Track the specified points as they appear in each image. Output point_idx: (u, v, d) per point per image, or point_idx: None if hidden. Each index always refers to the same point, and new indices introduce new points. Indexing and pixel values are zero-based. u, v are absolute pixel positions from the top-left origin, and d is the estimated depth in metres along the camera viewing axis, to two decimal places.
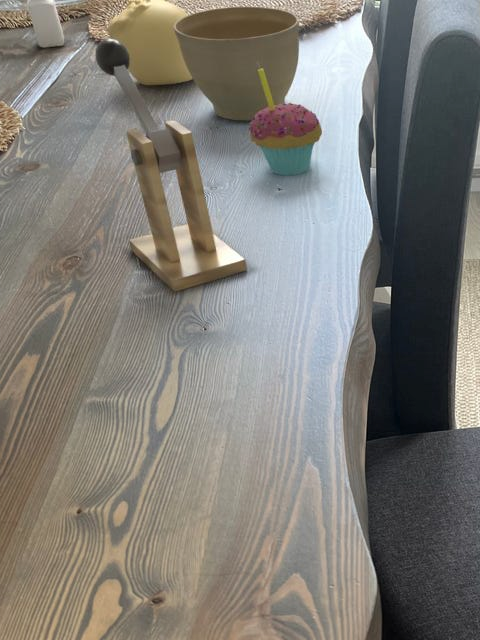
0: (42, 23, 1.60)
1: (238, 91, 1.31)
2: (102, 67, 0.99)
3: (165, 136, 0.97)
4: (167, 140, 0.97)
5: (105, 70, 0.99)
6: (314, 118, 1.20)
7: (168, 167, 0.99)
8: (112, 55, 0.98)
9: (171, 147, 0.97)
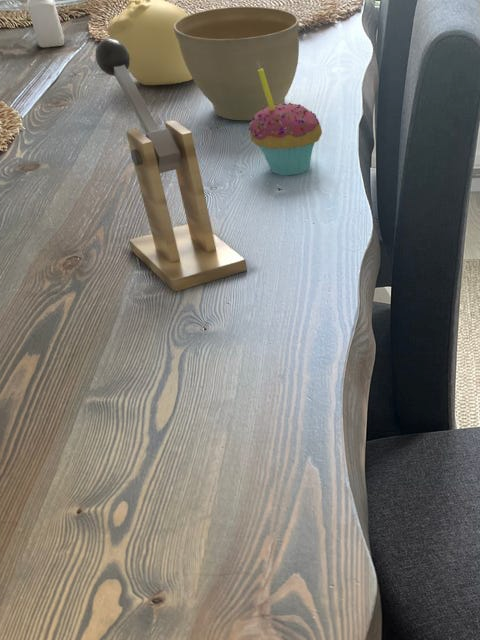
0: (42, 23, 1.60)
1: (238, 91, 1.31)
2: (102, 67, 0.99)
3: (165, 136, 0.97)
4: (167, 140, 0.97)
5: (105, 70, 0.99)
6: (314, 118, 1.20)
7: (168, 167, 0.99)
8: (112, 55, 0.98)
9: (171, 147, 0.97)
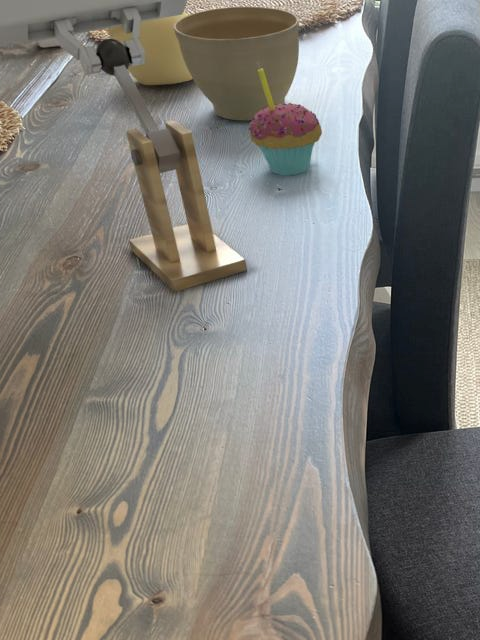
0: None
1: (238, 91, 1.31)
2: (102, 67, 0.99)
3: (165, 136, 0.97)
4: (167, 140, 0.97)
5: (105, 70, 0.99)
6: (314, 118, 1.20)
7: (168, 167, 0.99)
8: (112, 55, 0.98)
9: (171, 147, 0.97)
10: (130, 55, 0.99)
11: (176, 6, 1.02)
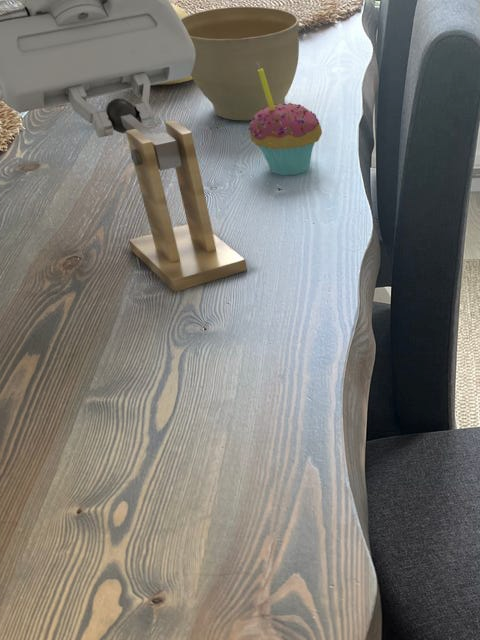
0: None
1: (238, 91, 1.31)
2: (111, 122, 1.03)
3: (162, 135, 0.98)
4: (164, 136, 0.98)
5: (114, 124, 1.04)
6: (314, 118, 1.20)
7: (169, 162, 0.98)
8: (118, 106, 1.03)
9: (168, 139, 0.97)
10: (140, 118, 1.04)
11: (183, 70, 1.07)
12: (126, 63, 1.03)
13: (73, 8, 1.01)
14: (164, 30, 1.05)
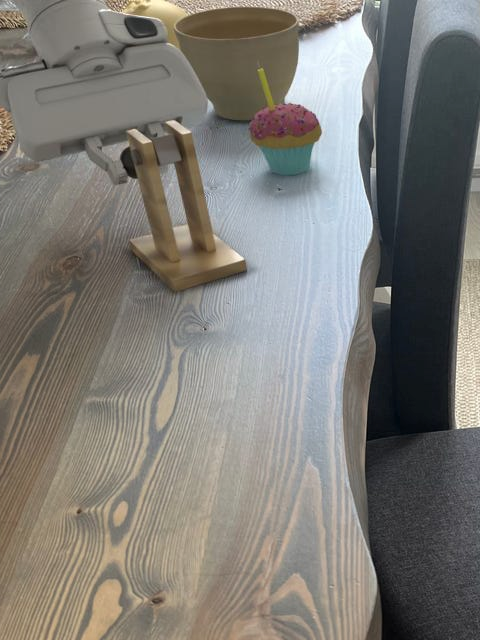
0: None
1: (238, 91, 1.31)
2: (125, 166, 1.06)
3: None
4: None
5: (127, 167, 1.06)
6: (314, 118, 1.20)
7: (168, 156, 0.97)
8: (129, 149, 1.06)
9: None
10: None
11: (196, 118, 1.10)
12: (140, 114, 1.06)
13: (89, 61, 1.03)
14: (177, 81, 1.08)
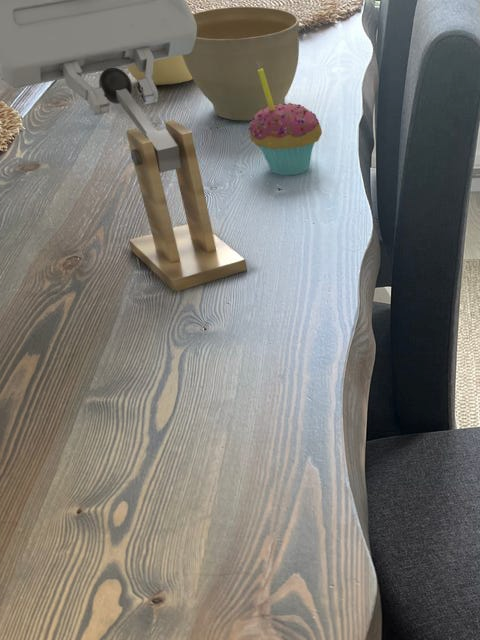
0: None
1: (238, 91, 1.31)
2: (105, 94, 1.01)
3: (163, 135, 0.98)
4: (165, 138, 0.97)
5: (108, 96, 1.01)
6: (314, 118, 1.20)
7: (169, 165, 0.98)
8: (113, 79, 1.00)
9: (169, 143, 0.97)
10: (143, 94, 1.02)
11: (184, 45, 1.04)
12: (125, 38, 1.00)
13: None
14: (165, 4, 1.02)
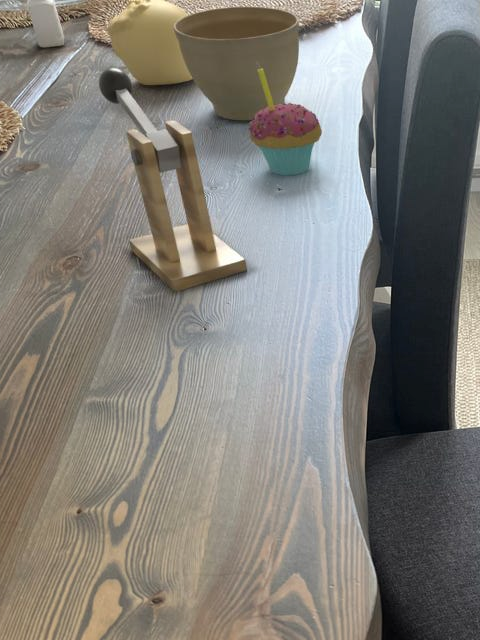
0: (42, 23, 1.60)
1: (238, 91, 1.31)
2: (105, 94, 1.01)
3: (163, 135, 0.98)
4: (165, 138, 0.97)
5: (108, 96, 1.01)
6: (314, 118, 1.20)
7: (169, 165, 0.98)
8: (113, 79, 1.00)
9: (169, 143, 0.97)
10: None
11: None
12: None
13: None
14: None
